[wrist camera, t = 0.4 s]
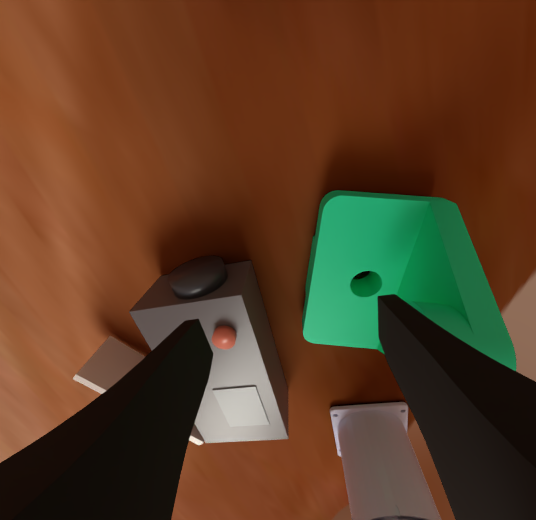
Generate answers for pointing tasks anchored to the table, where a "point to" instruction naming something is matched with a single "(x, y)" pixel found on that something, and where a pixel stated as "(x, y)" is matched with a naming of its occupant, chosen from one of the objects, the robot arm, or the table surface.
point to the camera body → (223, 346)
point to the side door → (115, 371)
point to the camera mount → (398, 272)
